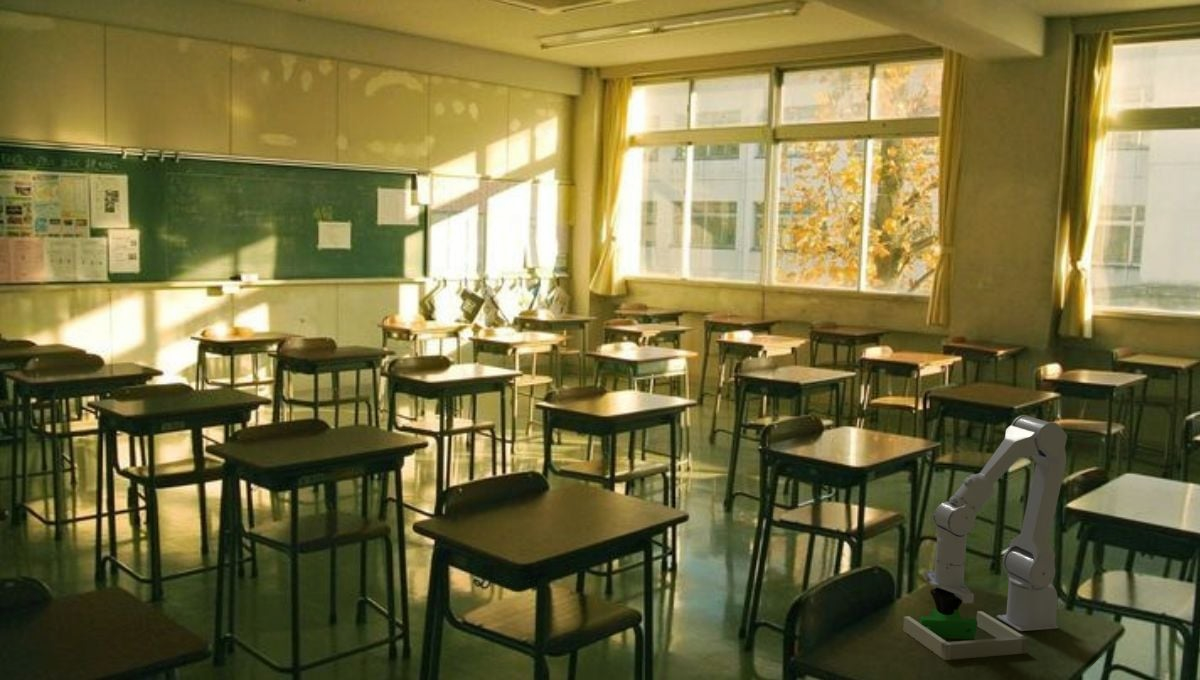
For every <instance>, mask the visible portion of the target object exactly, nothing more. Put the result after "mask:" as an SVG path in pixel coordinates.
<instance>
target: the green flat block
mask: <svg viewBox="0 0 1200 680" xmlns="http://www.w3.org/2000/svg"><path fill="white" fill-rule="evenodd" d="M919 617H920V618H919V621H918V623H920V624H921V625H923V626H924V627H926V628H927V629H929V630H930V631H932V632H933V633H935V634H936V635H938V636H939V637H941V638H942V639H954V640H955V639H959V640H975V637H976V631H977V628H978V626H977V623H978V622H977V620H976V618H967V617H962V616H961V614H960V612H959V609H958V610H954V612H953V614H952V615H944V614H941V613H939V612H938V611H937V608H931V611H930V616H928V615H927V616H926V615H925V616H922V615H921V616H919Z"/></svg>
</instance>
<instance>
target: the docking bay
mask: <svg viewBox="0 0 1200 680" xmlns="http://www.w3.org/2000/svg"><path fill="white" fill-rule="evenodd" d="M975 619H976V620H977V622H978V623H977V628H980V629H981V630H982V631H985V632H986V633H988V635H990V636H992V637H994V638H984V639H982V638H981V639H968V640H959V641H958V640H957V641H946V639H945V638H941V637H939V636H938V635H936V634H935V633H933V632H932V631H930V630H929V629H927V628H926V627H924V626H923V625H921V624H920V623H919V621H917V620H916V619H914V618H913V617H911V616H909V615H908V616H907V615H906V616H903V625H902V626H903V629H902V630H903V632H904V633H906V634H907V635H908V634H909V636H910V637H911V638H913V639H914V638H915V639H914V640H915V641H917V642H918V641H919V643H920V644H921V645H922V646H924V647H925V648H927V649H928V650H929V651H931V652H932V651H933V652H932V653H934V655H937V656H938V657H940V658H941V659H942V660H944V661H948V660H964V659H973V658H974V659H975V658H985V657H987V658H988V657H996V656H997V657H998V656H1009V655H1010V656H1011V655H1022V654H1027V653H1028V643H1029V639H1028V637H1025V636H1024V635H1023V634H1021V633H1019V632H1018V631H1016V630H1015V629H1014V628H1011V627H1009V626H1008V625H1006V624H1004V623H1002V622H1001V621H999V619H998V620H997V619H996V618H995V617H992V616H991V615H989V614H987V613H986V612H984V611H983V610H982V611H979V610H978V611H976V618H975Z"/></svg>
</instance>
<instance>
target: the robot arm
mask: <svg viewBox="0 0 1200 680" xmlns="http://www.w3.org/2000/svg"><path fill="white" fill-rule="evenodd" d="M1010 424H1011V425H1009V426H1008V427H1007V428H1006V429H1005V435H1004V439H1003V441H1002V442H1001V443H1000V445H999V446H998V447H997V449H996V450H995V452H994V453H993V454H992V456H991V457H990V459H988V461H987V462H986V464H985V465H984V466H983V468H982V469H981V471H980V472H979V473H973V474H970V475H969V476H968V477H965V478H964V479H963V481H962V482H963V483H962V484H961V485H960V487H959V488H958V489H957V491H956V492H954V494H953V495H952V496H950V498H949V499H948V501H944V502H942V503H941V504H939V505H937V507H936V508H935V510H934V513H933V514H932V516H931V517H932V521H933V523H934V525H935V527H936V532H935V533H936V535H937V536H936V549H935V551H936V552H935V563H934V564H935V565H934V570H933V569H932V570H924V576H923V577H924V580H925V581H926V582H929V586H931V587H932V589H930V591H929V592H930V594H931V596H932V599H933V601H934V604H935V607H936V608H935V609H936V610H937V611H938V612H939V613H941V614H944V615H952V614H953V612H954V610H958V611H959V608H960V606H962V603H963V604H965V605H966V604H974V601H975V599H974V598H975V597H974V596H975V593H973V592H972V591H971V590H970V589H969V587H967V585H966V584H965V583H964V581H965V580H964V579H965V578H964V577H965V569H966V568H965V566H966V564H965V563H966V553H967V539H968V534H969V533H970V532H971V531H972V530H973V529H974V526H975V523H976V519H977V516H978V513H979V512H980V510H981V509H982V508H983V507H984V506H985V504H986V503H987V502H988V501H989V500H990V498H991V497H992V496H993V495H994V493H995V488H994V484H996V482H997V481H998V480H999V479H1000V478H1001V477H1002V476H1003V475H1004V474H1005V473H1006V472H1007V471H1008V470H1009V469H1010V468H1011V467H1012V466H1013V465H1014V464H1015V463H1016V462H1017V460H1019V459H1020V458H1023V457H1031V458H1032V459H1033V460H1034V462H1035V468H1034V472H1033V477H1032V481H1031V484H1030V485H1031V486H1030V491H1029V494H1028V498H1027V504H1026V507H1025V513H1024V515H1023V516H1024V517H1023V522H1022V526H1021V530H1020V534H1019V535H1017V536H1015V537H1014V538H1012V539H1010V543H1009V547H1008V548H1007V550H1006V551H1005V552H1004V555H1003V557H1002V567H1003V569H1004V570H1005V572H1007V579H1008V588H1007V589H1008V590H1007V602H1006V613H1005V614H997V615H996V618H997V619H998V620H1000V621H1002V622H1004V623H1005V624H1007V625H1009V626H1011V627H1012V628H1013V629H1014V630H1017V631H1019V632H1026V631H1027V632H1028V631H1042V630H1043V631H1044V630H1054V629H1059V626H1058V625H1057V613H1058V601H1059V600H1058V599H1059V598H1058V597H1059V595H1058V592H1057V590H1056V588H1055V586H1054V585H1053V584H1052V582H1053V581H1054V578H1055V576H1056V566H1055V558H1056V553H1055V551H1054V550H1053V548H1052V546H1051V545H1050V543H1049V540H1050V535H1051V530H1052V527H1053V521H1054V517H1055V513H1056V508H1057V504H1058V499H1059V495H1060V491H1061V486H1062V483H1063V478H1064V474H1065V469H1066V465H1067V453H1066V445H1067V441H1068V440H1067V439H1068V434H1067V433H1066V431H1064V429H1063V428H1062V427H1061V426H1060V425H1059V424H1057V423H1056V422H1052V421H1051V422H1050V421H1046V420H1042V419H1039V418H1036V417H1032V416H1030V415H1027V414H1022V415H1019V416H1017V417H1016V418H1014V420H1013V421H1012V422H1011V423H1010Z"/></svg>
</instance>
